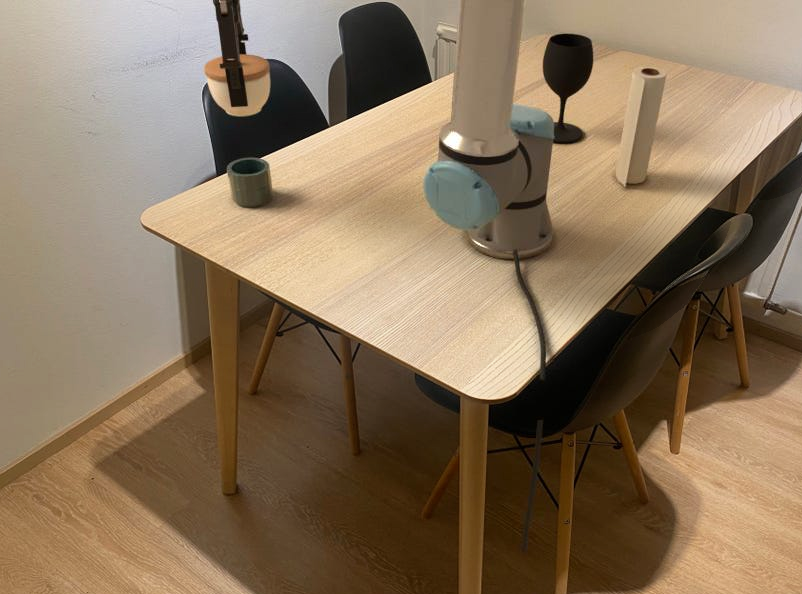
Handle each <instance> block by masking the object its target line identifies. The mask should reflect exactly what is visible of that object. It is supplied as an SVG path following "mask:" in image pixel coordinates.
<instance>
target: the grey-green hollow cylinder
mask: <svg viewBox="0 0 802 594" xmlns="http://www.w3.org/2000/svg"><path fill="white" fill-rule="evenodd" d="M226 173H227V179H228V184H229V191H230V195H231V199H232V201H233V202H234V203H236V204H237V205H238V206H241V207H245V208H257V207H261V206H264V205H266V204H268V203H269V202H270V201H271V200H272V198H273V197H274V188H273V182H272V175H271V169H270V163H269V162H268V161H267V160H265V159H263V158H260V157H243V158H239V159H235V160H233V161H232V162H230V163H229V164H227V167H226Z"/></svg>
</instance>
